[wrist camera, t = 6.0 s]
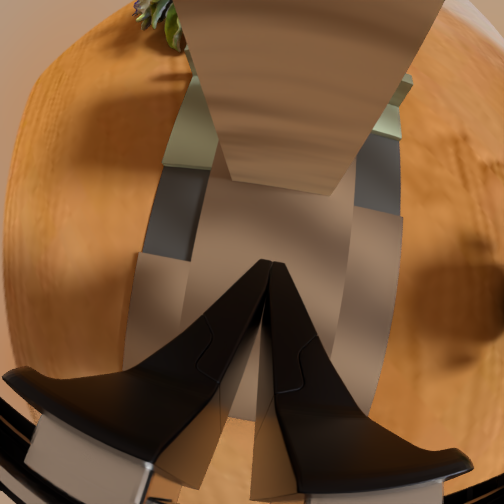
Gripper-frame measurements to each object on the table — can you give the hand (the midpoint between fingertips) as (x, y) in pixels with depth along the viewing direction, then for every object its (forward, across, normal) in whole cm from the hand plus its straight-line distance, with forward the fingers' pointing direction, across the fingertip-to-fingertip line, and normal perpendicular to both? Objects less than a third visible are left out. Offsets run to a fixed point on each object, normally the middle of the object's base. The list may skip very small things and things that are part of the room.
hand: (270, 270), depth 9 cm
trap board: (+7, 0, +3) cm, 8 cm away
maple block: (+11, 0, -2) cm, 11 cm away
